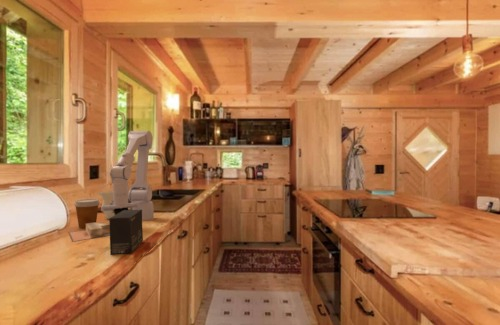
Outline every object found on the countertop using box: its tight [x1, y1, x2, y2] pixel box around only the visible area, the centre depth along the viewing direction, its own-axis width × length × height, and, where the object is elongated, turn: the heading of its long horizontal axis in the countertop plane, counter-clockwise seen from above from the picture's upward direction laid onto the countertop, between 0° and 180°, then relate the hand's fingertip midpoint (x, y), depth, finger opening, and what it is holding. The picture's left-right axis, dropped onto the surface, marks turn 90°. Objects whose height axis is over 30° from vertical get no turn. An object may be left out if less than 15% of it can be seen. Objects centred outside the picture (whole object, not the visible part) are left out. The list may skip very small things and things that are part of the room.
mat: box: [67, 229, 110, 243], centre depth 108 cm, size 21×16×1 cm
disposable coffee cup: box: [74, 198, 101, 229], centre depth 117 cm, size 10×10×12 cm
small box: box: [108, 209, 144, 256], centre depth 91 cm, size 13×7×12 cm, turn 7°
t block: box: [85, 221, 110, 238], centre depth 108 cm, size 11×12×3 cm
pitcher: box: [97, 190, 132, 220], centre depth 136 cm, size 11×18×14 cm, turn 139°
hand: (121, 226), depth 112 cm, fingers closed
